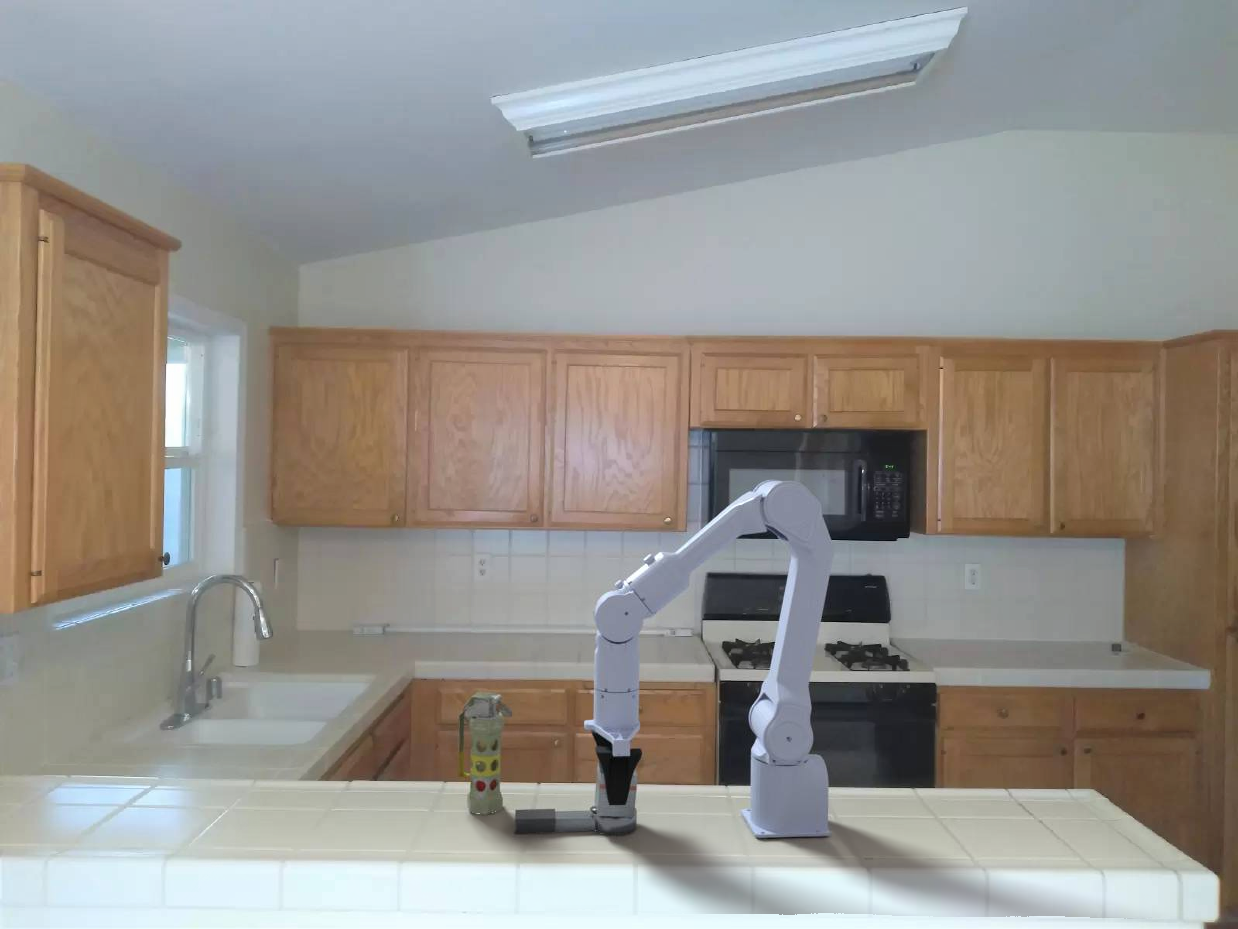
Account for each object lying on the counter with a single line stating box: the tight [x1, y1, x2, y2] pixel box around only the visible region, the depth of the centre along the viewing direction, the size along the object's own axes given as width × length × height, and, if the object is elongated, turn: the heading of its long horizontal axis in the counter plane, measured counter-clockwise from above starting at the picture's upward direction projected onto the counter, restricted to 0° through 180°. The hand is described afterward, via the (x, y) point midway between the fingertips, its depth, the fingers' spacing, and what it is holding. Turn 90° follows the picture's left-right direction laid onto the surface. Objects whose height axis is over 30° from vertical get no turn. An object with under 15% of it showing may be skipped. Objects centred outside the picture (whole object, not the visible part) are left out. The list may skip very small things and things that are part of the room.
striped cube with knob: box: [594, 760, 639, 817], centre depth 109 cm, size 5×5×6 cm
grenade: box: [457, 691, 514, 815], centre depth 115 cm, size 6×7×15 cm
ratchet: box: [514, 805, 638, 837], centre depth 109 cm, size 15×6×4 cm, turn 96°
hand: (614, 794), depth 109 cm, fingers open, 6 cm apart
